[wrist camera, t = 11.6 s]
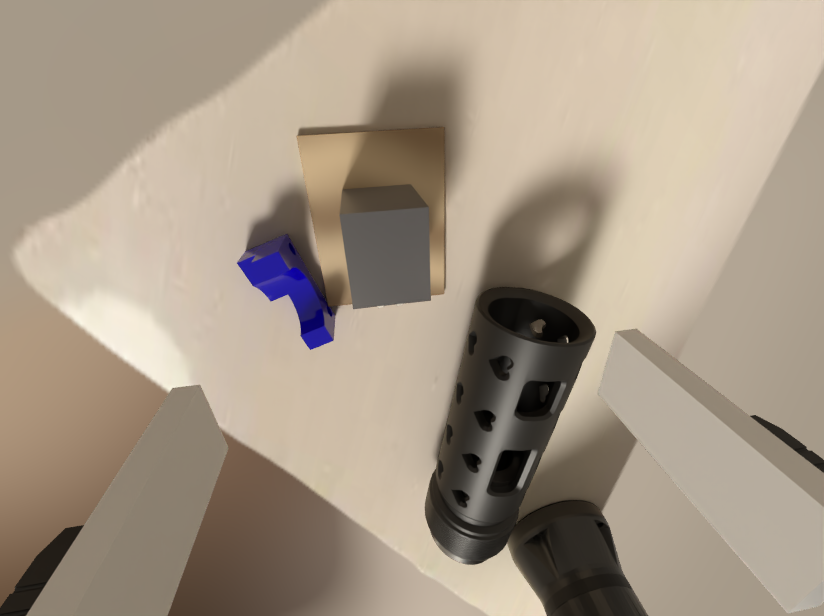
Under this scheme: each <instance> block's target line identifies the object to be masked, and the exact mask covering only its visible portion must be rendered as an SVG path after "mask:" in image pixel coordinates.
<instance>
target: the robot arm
mask: <svg viewBox="0 0 824 616" xmlns="http://www.w3.org/2000/svg"><path fill="white" fill-rule="evenodd" d="M598 395H599V396H600V397H601V398H602V399H603V401H604V402H605V403H606V404H607V405H608V406H609V408H610V409H611V410H612V411H613V412H614V413H615V414H616V416H617V417H618V418H619V419H620V420H621V421H622V423H623V424H624V425H625V426H626V427H627V428H628V429H629V431H630V432H631V433H632V434H633V435H634V436H635V438H636V439H637V440H638V441H639V442H640V443H641V445H642V446H643V447H644V448H645V449H646V450H647V451H648V453H650V455H651V456H652V457H653V458H654V460H655V461H656V462H657V463H658V464H659V465H660V466H661V467H662V469H663V470H664V471H665V472H666V473H667V474H668V476H669V477H670V478H671V479H672V480H673V481H674V482H675V484H676V485H677V486H678V487H679V488H680V490H681V491H682V492H683V493H684V494H685V495H686V497H688V499H689V500H690V501H691V502H692V503H693V505H694V506H695V507H696V508H697V509H698V510H699V512H700V513H701V514H702V515H703V516H704V517H705V518H706V520H707V521H708V522H709V523H710V524H711V525H712V527H713V528H714V529H715V530H716V531H717V532H718V533H719V534H720V536H721V537H722V538H723V539H724V540H725V542H726V543H727V544H728V545H729V546H730V547H731V549H732V550H733V551H734V552H735V553H736V554H737V555H738V557H739V558H740V559H741V560H742V561H743V562H744V563H745V565H746V566H747V567H748V568H749V569H750V570H751V572H752V573H753V574H754V575H755V576H756V577H757V579H758V580H759V581H760V582H761V583H762V584H763V586H765V588H766V589H767V590H768V591H769V592H770V594H771V595H772V596H773V597H774V598H775V599H776V600H777V602H778V603H779V604H780V605H781V606H782V607H783V609H784V610H785V611H786V612H787V613H792V612H795V611H800V610H805V609H809V608H813V607H817V606H820V605H821V604H822V603H824V460H823V459H822V458H821V457H819V456H818V455H817V454H815V453H814V452H813V451H808V450H807V449H806V446H804V445H803V444H802V443H800V442H799V441H798V440H796V439H795V438H794V437H792V436H791V435H790V434H788V433H787V432H785V431H784V430H783V429H781V428H779V427H777V426H775V425H773V424H771V423H770V422H768V421H765V420H763V419H762V418H760V417H758V416H756V415H753V416H749V415H748V414H746V413H745V412H744V411H742V410H741V409H740V408H738V407H737V406H736V405H735V404H733V403H732V402H731V401H729V400H728V399H727V398H726V397H724V396H723V395H722V394H720V393H719V392H718V391H716V390H715V389H714V388H713V387H711V386H710V385H709V384H707V383H706V382H705V381H704V380H702V379H701V378H700V377H698V376H697V375H696V374H694V373H693V372H692V371H690V370H689V369H688V368H687V367H685V366H684V365H683V364H681V363H680V362H679V361H678V360H676V359H675V358H674V357H672V356H671V355H670V354H668V353H667V352H666V351H665V350H663V349H662V348H661V347H659V346H658V345H657V344H655V343H654V342H653V341H652V340H650V339H649V338H648V337H646V336H645V335H644V334H642V333H641V332H640V331H639V330H637V329H631V330H623V331H616V332H615V334H614V338H613V341H612V345H611V348H610V352H609V355H608V359H607V362H606V366H605V369H604V373H603V376H602V380H601V383H600V387H599V390H598ZM227 451H228V446H227V444H226V441H225V439H224V437H223V435H222V432H221V430H220V428H219V426H218V423H217V421H216V419H215V417H214V415H213V412H212V410H211V408H210V406H209V403H208V401H207V399H206V397H205V394H204V392H203V390H202V388H201V386H200V385H194V386H186V387H178V388H172V390H171V391H170V393H169V394H168V396H167V397H166V399H165V401H164V402H163V404H162V405H161V407H160V408H159V410H158V411H157V413H156V415H155V416H154V418H153V419H152V421H151V423H150V424H149V426H148V427H147V429H146V430H145V432H144V433H143V435H142V436H141V438H140V439H139V441H138V443H137V444H136V446H135V447H134V449H133V450H132V452H131V453H130V455H129V457H128V458H127V460H126V461H125V463H124V465H123V466H122V467H121V469H120V470H119V472H118V474H117V475H116V477H115V478H114V480H113V481H112V483H111V484H110V486H109V488H108V489H107V491H106V492H105V494H104V495H103V497H102V498H101V500H100V502H99V503H98V505H97V506H96V508H95V509H94V511H93V512H92V514H91V516H90V517H89V519H88V520H87V522H86V523H85V525H83V526H76V527H70V528H65V529H64V530H63V531H62V532H61V533H60V534H59V535H58V536H57V537H56V538H55V539H54V540H53V541H52V542H51V543H50V544H49V545H48V546H47V547H46V548H45V549H44V550H42V551H41V552H40V553H39V554H38V555H37V556H36V558H35V559H34V561H33V562H32V563H31V565H30V566H29V568H28V569H27V571H26V572H25V573H24V575H23V576H22V578H21V579H20V580H19V582H18V583H17V585H16V586H15V591H14V593H13V594H10V595H9V596H8V597H7V599H6V600H5V602H4V603H3V605H2V606H1V608H0V616H167V615H168V612H169V610H170V607H171V604H172V601H173V599H174V596H175V593H176V590H177V588H178V585H179V582H180V579H181V577H182V574H183V571H184V568H185V566H186V563H187V560H188V557H189V555H190V552H191V549H192V547H193V544H194V541H195V538H196V536H197V533H198V530H199V527H200V524H201V522H202V519H203V516H204V514H205V511H206V508H207V505H208V503H209V500H210V497H211V495H212V492H213V489H214V486H215V483H216V481H217V478H218V475H219V472H220V469H221V467H222V464H223V461H224V459H225V456H226V453H227ZM508 547H509V550H510V553H511V556H512V558H513V561H514V563H515V565H516V566H517V567H518V569H519V570H520V572H521V573H522V575H523V576H524V578H525V579H526V580H527V582H528V583H529V585H530V586H531V588H532V589H533V590H534V592H535V593H536V595H537V596H538V598H539V599H540V601H541V602H542V604H543V607H544V609H545V612H546V614H547V616H648V615H647V613H646V611H645V609H644V608H643V606H642V604H641V603H640V601H639V599H638V598H637V596H636V594H635V593H634V591H633V589H632V588H631V586H630V584H629V582H628V581H627V579H626V577H625V575H624V574H623V571H622V569H621V565H620V562H619V558H618V555H617V551H616V548H615V544H614V541H613V537H612V534H611V530H610V527H609V525H608V523H607V521H606V519H605V518H604V516H603V514H602V513H601V511H600V509H599V508H598V507H597V506H595V505H594V504H592V503H589V502H584V501H567V502H561V503H557V504H553V505H550V506H547V507H544V508H542V509H540V510H538V511H536V512H534V513H532V514H530V515H529V516H527V517H526V518H524V519H523V520H522V521H520V522H519V523H518V524H517V525H516V526H515V527H514V529H513V531H512V533H511V535H510V537H509V540H508Z"/></svg>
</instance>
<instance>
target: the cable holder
mask: <svg viewBox="0 0 824 616" xmlns="http://www.w3.org/2000/svg"><path fill="white" fill-rule="evenodd" d="M237 264H238V265H239V267H240V268H241V270H242V271H243V272H244V274H245V275H246V277H247V278H248V279H249V281H250V282H251V284H252V285H253V286H254V287H256V288H258V289H260V290H261V291H262V292H263V293H264V294H265V295H266V296H267V297H268V298H269V300H270V301H273V300H276V299H278V298H280V297H283V296H285V295H289V296H290V298H291V300H292V302H293V304H294V306H295V308H296V311H297V313H298V317H299V320H300V325H301V337H302V339H303V340H304V342H305V343H306V344H307V346H308V347H309V349H310V350H311V349H314V348H316V347H319V346H321V345H324V344H326V343H329V342H331V341H333V340H334V327H335V314H334V313H333V311H332V309H331V308H330V307H328V302H327V301H326V299H325V297H324V296H323V294H322V292H321V291H320V289H319V287H318V286H317V284H316V282H315V280H314V279H313V277H312V275H311V274H310V272H309V270H308V269H307V267H306V265H305V264H304V262H303V260H302V258H301V257H300V255H299V253H298V252H297V250H296V248H295V247H294V245H293V243H292V242H291V240H290V238H289V236H288V235H287V234H285V235H283V236H280V237H278V238H276V239H273V240H271V241H269V242H266V243H264V244H262V245H259V246H257V247H255V248H252V249H250V250H248V251H245V253H244V254H243V255H242V257H241V258H240V259H239V261H238V262H237Z"/></svg>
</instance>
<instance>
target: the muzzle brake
mask: <svg viewBox="0 0 824 616" xmlns="http://www.w3.org/2000/svg"><path fill="white" fill-rule="evenodd" d="M538 319H542V320H544V321H545V323H546V324H545V325H543V327H542V333H536V332H535V331H534V329H533V327H532V325H531V323H532V322H534V321H536V320H538ZM595 335H596V330H595V326H594V325H593V323H592V322H591V320H590V319H589V318H588V317H587V316H586V315H585V314H584V313H583V312H581V311H580V310H579V309H578V308H576V307H574V306H573V305H571V304H569V303H567V302H565V301H563V300H561V299H559V298H556V297H554V296H551V295H548V294H545V293H542V292H538V291H534V290H530V289H524V288H509V287H500V288H493V289H489V290H487V291H485V292H483V293H481V294H480V295H479V296H478V298H477V300H476V304H475V308H474V312H473V316H472V321H471V325H470V329H469V333H468V337H467V341H466V345H465V350H464V354H463V358H462V362H461V366H460V370H459V375H458V379H457V383H456V387H455V391H454V395H453V399H452V404H451V408H450V412H449V416H448V420H447V424H446V429H445V433H444V437H443V441H442V445H441V449H440V453H439V458H438V462H437V465H436V469H435V471H434V473H433V474H432V477H431V480H430V484H429V488H428V492H427V496H426V501H425V516H426V520H427V523H428V526H429V528H430V531H431V535H432V537H433V539H434V541H435V543H436V544H437V545H438V547H439V548H440V549H441V550H442V551H443V552H444V553H445V554H446V555H447V556H448V557H450V558H451V559H453V560H455V561H457V562H459V563H463V564H468V565H475V564H479V563H482V562H484V561H486V560H487V559H489V558H491V557H493V556H495V555H497V554H498V553H499V552H500V551H501V550H502V549H503V548H504V547H505V545H506V544H507V542H508V540H509V537H510V535H511V533H512V531H513V529H514V526H515V524H516V521H517V518H518V512H519V507H520V505H521V503H522V500H523V498H524V495H525V493H526V490H527V489H528V487H529V485H530V483H531V480H532V478H533V476H534V474H535V471H536V469H537V467H538V464H539V461H540V459H541V456H542V454H543V452H544V451H545V449H546V446H547V444H548V442H549V440H550V437H551V435H552V433H553V431H554V428H555V426H556V423H557V421H558V418H559V415H560V413H561V411H562V410H563V408H564V406H565V404H566V401H567V399H568V397H569V395H570V392H571V390H572V388H573V386H574V383H575V381H576V379H577V376H578V373H579V371H580V368H581V365H582V362H583V361H584V359H585V358H586V356H587V354H588V352H589V350H590V347H591V345H592V343H593V341H594V338H595ZM567 337H568V340H569V342H568V343H567V340H566V338H567ZM548 388H549V391H548Z"/></svg>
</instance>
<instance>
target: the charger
mask: <svg viewBox="0 0 824 616" xmlns="http://www.w3.org/2000/svg"><path fill="white" fill-rule="evenodd" d="M339 216H340V222H341V229H342V236H343V243H344V250H345V256H346V263H347V270H348V277H349V284H350V290H351V297H352V304H353V309H359V308H368V307H377V308H381V307H384V306H386V305H395V304H396V306H399V305H403V303H412V302H421V301H430V300H431V285H430V237H429V207H428V205H427V204H426V203H425V202H424V200H423V199H422V198H421V196H420V195H419V194H418V193H417V191H416V190H415V189H414V187H413V186H412V185H411V184H406V185H393V186H380V187H367V188H354V189H342V195H341V204H340V213H339Z"/></svg>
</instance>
